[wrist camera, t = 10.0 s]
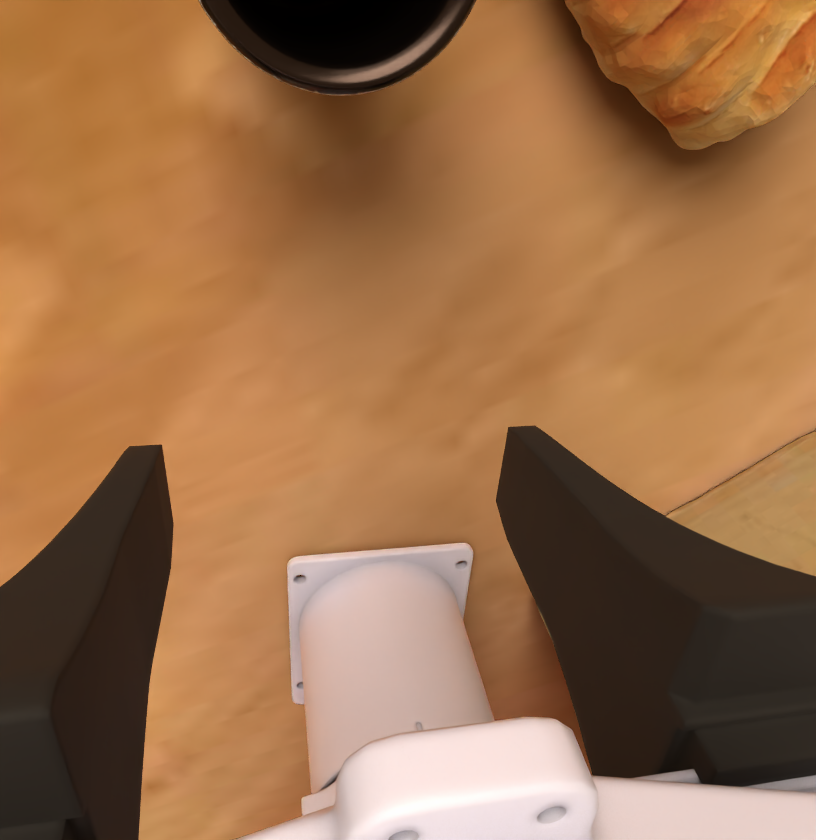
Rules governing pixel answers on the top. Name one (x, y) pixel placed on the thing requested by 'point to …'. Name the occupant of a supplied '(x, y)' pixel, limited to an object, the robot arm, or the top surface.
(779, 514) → the caddy
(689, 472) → the top surface
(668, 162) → the top surface
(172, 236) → the top surface
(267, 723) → the top surface
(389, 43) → the planter
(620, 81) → the pastry
